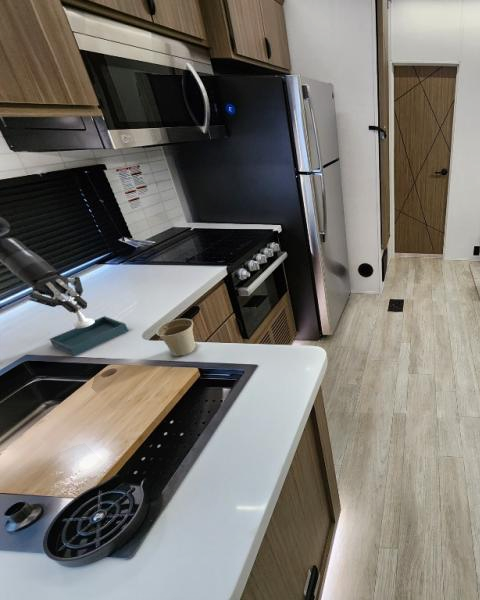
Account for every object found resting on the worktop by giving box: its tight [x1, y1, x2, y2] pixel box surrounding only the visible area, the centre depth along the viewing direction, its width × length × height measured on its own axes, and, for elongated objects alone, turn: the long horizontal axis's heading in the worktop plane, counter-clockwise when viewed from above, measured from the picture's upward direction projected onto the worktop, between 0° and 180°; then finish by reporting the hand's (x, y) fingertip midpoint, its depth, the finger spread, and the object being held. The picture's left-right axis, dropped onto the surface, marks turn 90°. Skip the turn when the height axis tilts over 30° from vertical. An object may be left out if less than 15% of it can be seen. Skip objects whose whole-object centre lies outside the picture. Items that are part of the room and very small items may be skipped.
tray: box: [49, 315, 129, 357], centre depth 107 cm, size 15×12×3 cm
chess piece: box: [66, 296, 95, 329], centre depth 103 cm, size 5×5×10 cm
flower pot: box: [155, 318, 196, 357], centre depth 99 cm, size 9×9×9 cm
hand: (81, 309), depth 102 cm, fingers closed on chess piece
